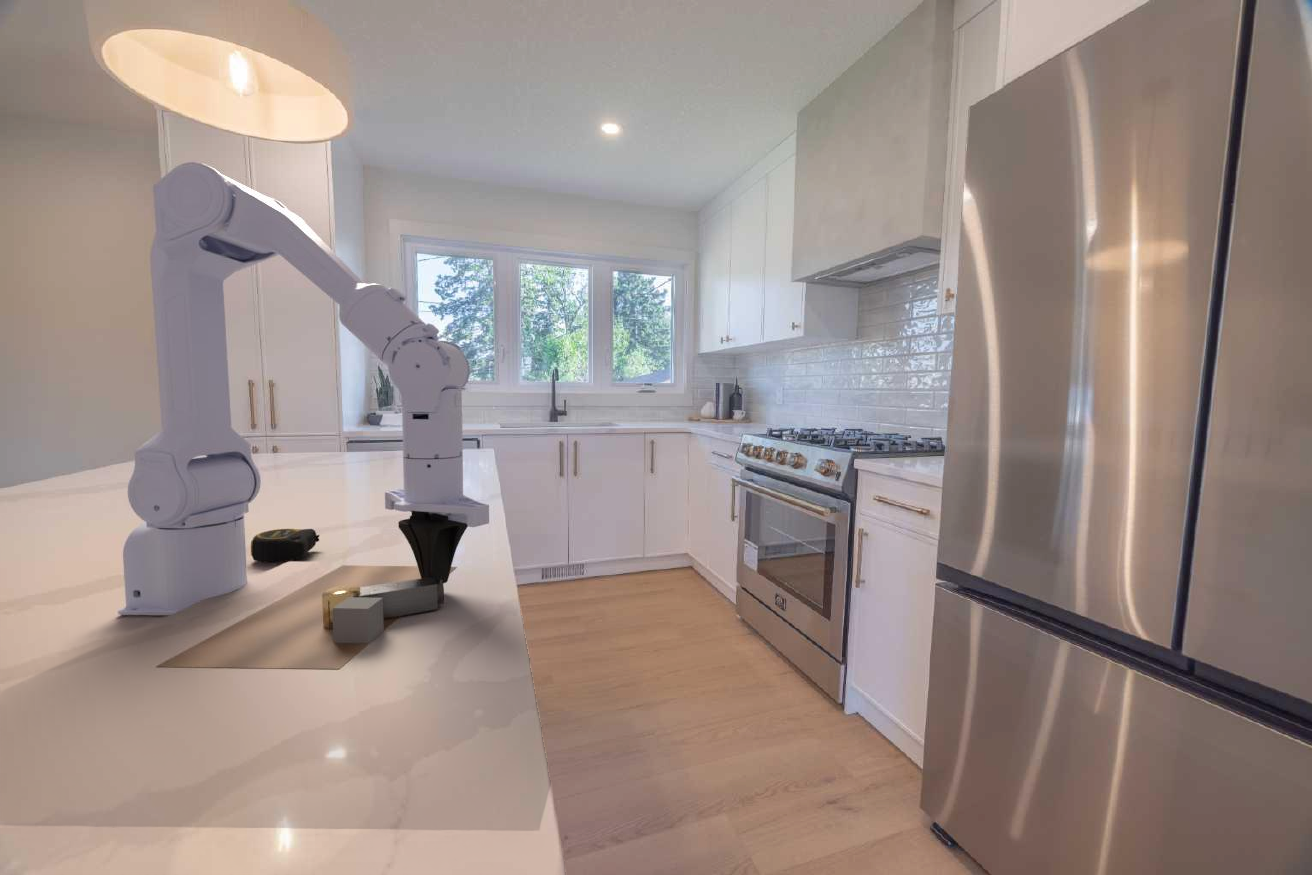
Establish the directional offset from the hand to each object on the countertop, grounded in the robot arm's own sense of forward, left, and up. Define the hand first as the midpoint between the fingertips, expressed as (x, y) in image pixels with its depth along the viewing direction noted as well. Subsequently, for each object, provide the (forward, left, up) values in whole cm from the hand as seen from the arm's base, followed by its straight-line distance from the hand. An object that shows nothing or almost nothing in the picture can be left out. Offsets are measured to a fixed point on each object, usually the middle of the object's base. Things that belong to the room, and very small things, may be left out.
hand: (435, 583), depth 55 cm
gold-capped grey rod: (-2, -6, -1) cm, 6 cm away
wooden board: (-8, -3, -3) cm, 9 cm away
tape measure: (-27, +16, -3) cm, 31 cm away
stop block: (-3, -10, -1) cm, 10 cm away
